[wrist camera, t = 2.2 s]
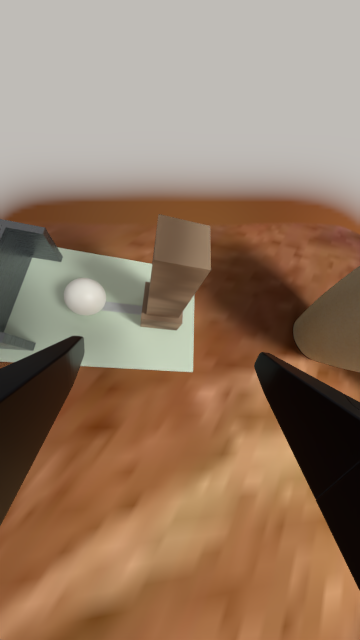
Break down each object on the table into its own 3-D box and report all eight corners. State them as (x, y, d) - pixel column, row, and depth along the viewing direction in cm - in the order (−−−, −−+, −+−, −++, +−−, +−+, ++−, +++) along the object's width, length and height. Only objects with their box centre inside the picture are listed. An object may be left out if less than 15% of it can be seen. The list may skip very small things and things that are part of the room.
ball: (115, 306, 21) (111, 291, 17) (86, 327, 20) (75, 315, 16) (94, 283, 21) (84, 263, 18) (63, 302, 20) (46, 284, 16)
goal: (62, 256, 22) (45, 227, 17) (33, 350, 18) (1, 342, 14) (26, 250, 21) (-1, 218, 17) (-13, 347, 17) (-61, 338, 13)
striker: (178, 298, 23) (216, 221, 12) (176, 330, 22) (218, 278, 10) (144, 293, 22) (151, 206, 11) (140, 326, 21) (143, 265, 9)
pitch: (193, 274, 26) (194, 271, 25) (191, 372, 22) (192, 371, 21) (32, 246, 22) (29, 242, 21) (-12, 360, 17) (-19, 360, 17)
